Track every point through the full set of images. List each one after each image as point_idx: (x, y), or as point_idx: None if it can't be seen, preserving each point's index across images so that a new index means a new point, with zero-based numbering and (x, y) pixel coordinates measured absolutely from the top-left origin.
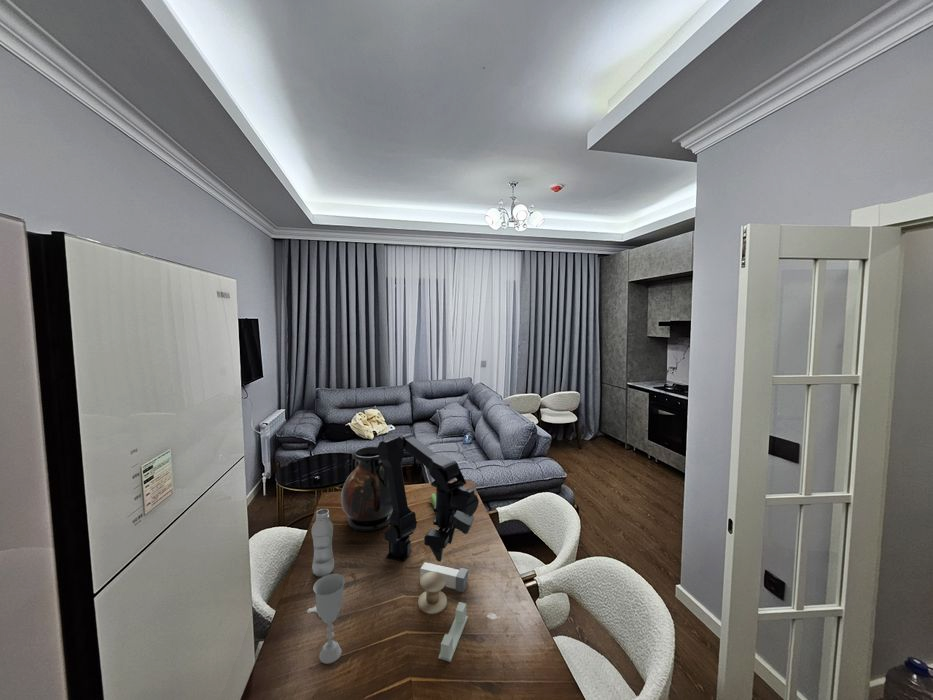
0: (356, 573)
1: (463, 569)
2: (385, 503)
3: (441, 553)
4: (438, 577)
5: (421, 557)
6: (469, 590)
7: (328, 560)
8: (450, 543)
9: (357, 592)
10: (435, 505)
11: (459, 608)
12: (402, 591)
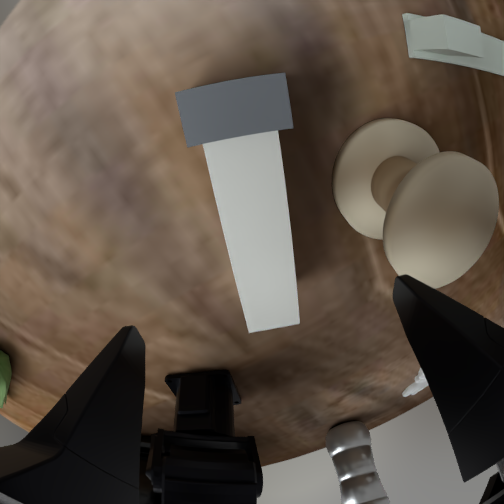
0: (327, 402)
1: (195, 118)
2: (152, 501)
3: (488, 319)
4: (433, 211)
5: (169, 342)
6: (240, 54)
7: (361, 447)
8: (134, 328)
9: (388, 367)
10: (4, 396)
11: (473, 42)
12: (362, 299)
